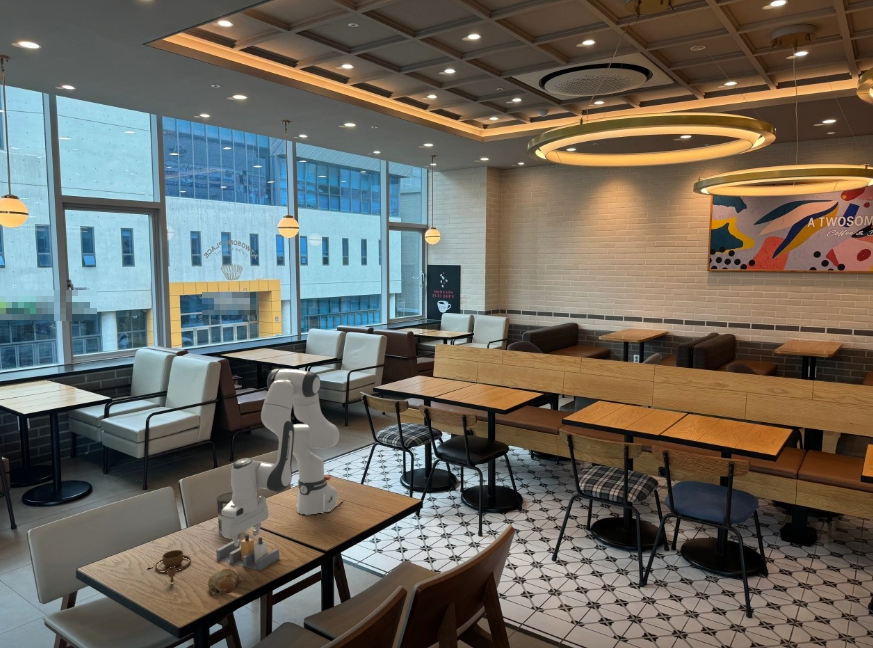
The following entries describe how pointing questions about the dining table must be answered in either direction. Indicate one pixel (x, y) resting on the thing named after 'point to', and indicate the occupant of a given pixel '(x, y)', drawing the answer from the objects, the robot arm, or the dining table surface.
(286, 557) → the dining table surface
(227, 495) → the coffee can
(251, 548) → the orange plug
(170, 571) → the place setting
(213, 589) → the bread roll
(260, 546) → the white plug
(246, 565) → the rack
